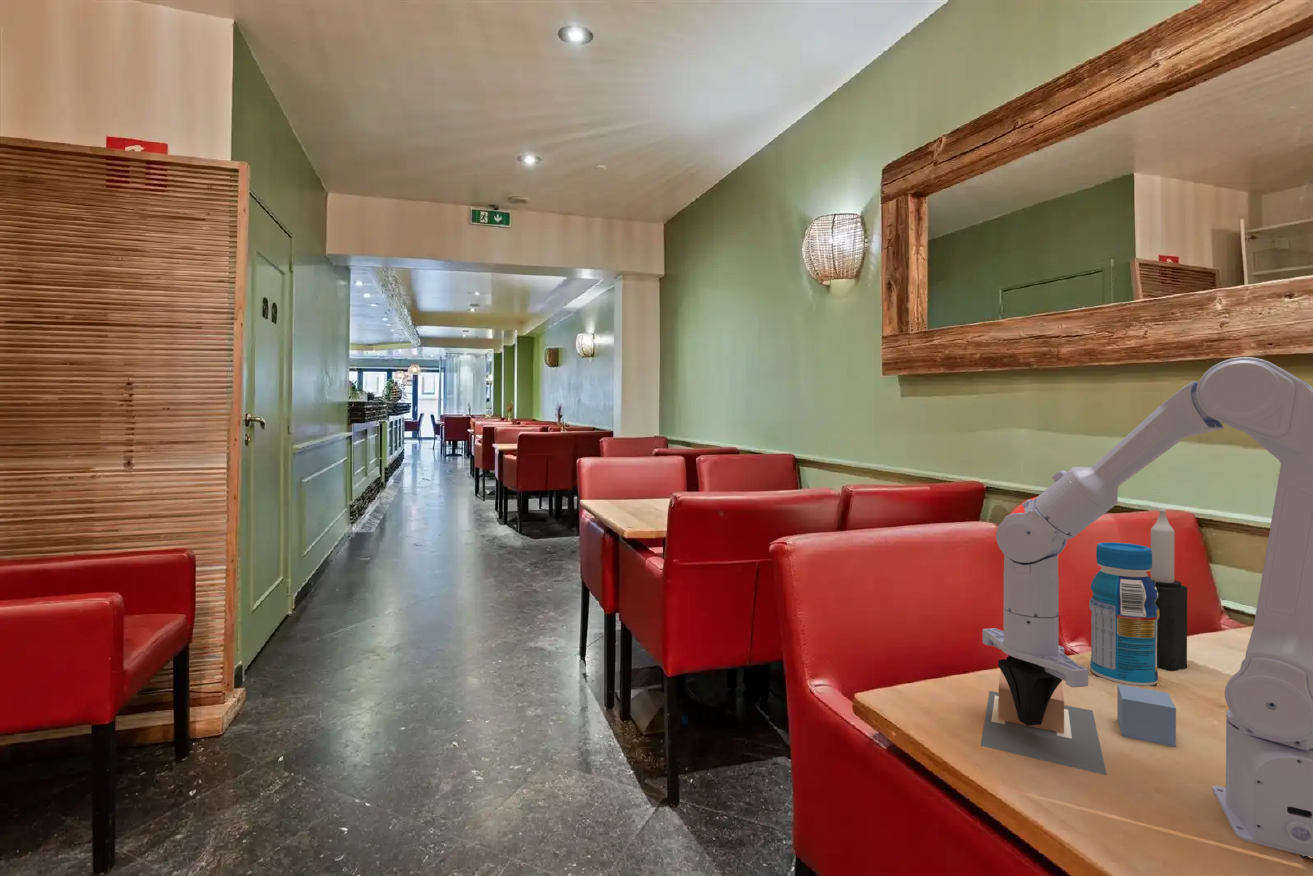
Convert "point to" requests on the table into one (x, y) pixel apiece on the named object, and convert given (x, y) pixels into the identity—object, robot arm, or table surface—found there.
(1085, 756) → the letter mat
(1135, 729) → the blue cube
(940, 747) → the table surface
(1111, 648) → the blue supplement bottle
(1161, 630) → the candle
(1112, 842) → the table surface
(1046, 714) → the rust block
